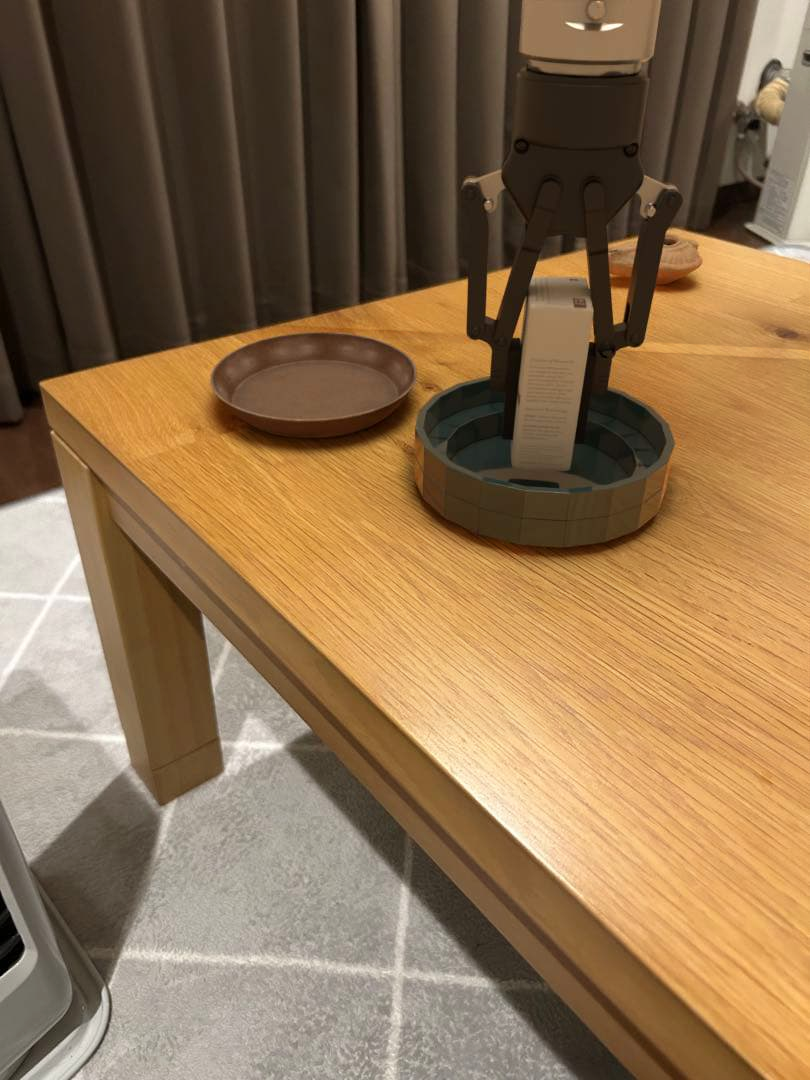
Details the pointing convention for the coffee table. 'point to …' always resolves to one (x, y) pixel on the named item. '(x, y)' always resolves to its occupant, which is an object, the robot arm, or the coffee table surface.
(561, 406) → the cosmetic box
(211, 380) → the plant saucer
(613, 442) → the bowl
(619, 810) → the coffee table surface
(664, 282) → the pottery oil lamp
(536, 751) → the coffee table surface
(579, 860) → the coffee table surface
